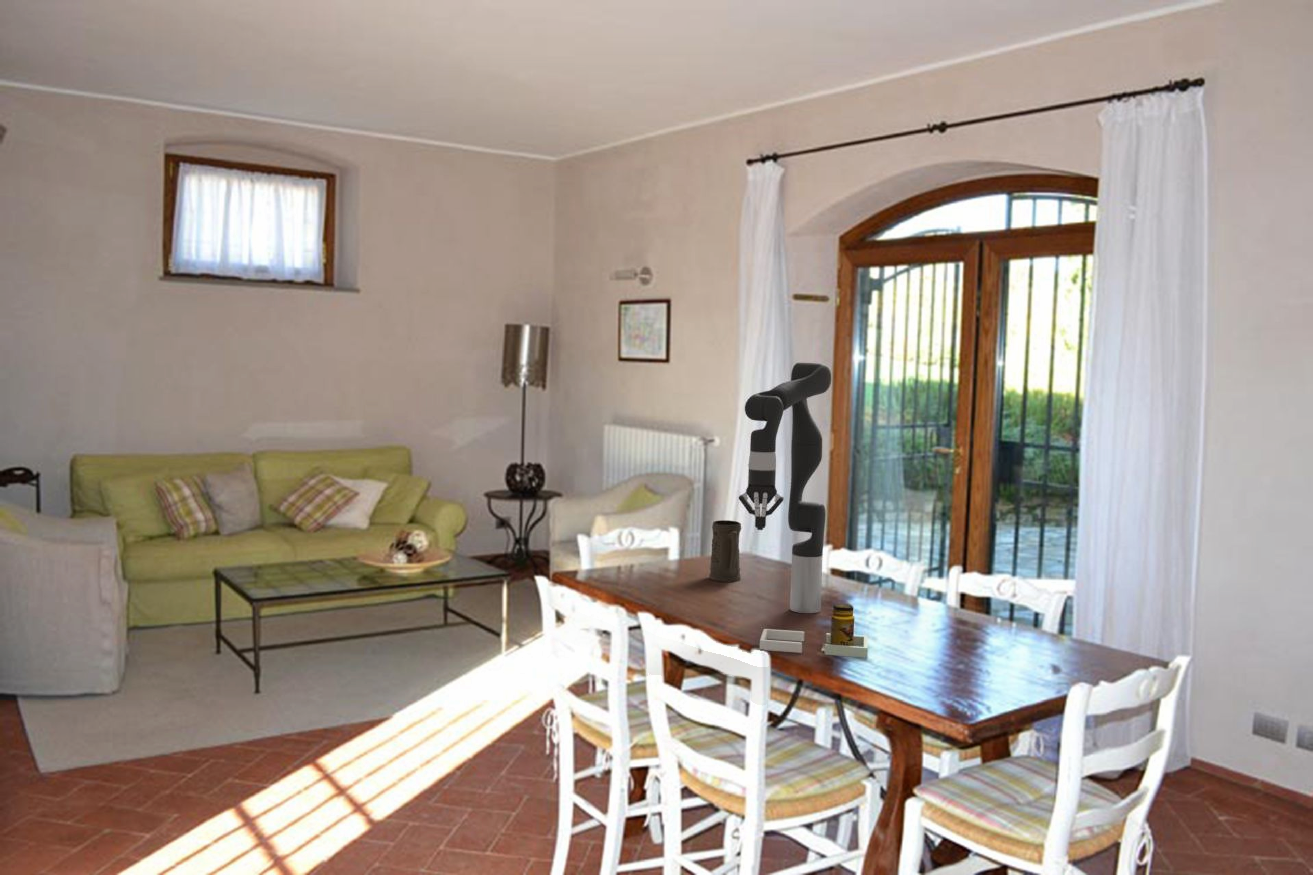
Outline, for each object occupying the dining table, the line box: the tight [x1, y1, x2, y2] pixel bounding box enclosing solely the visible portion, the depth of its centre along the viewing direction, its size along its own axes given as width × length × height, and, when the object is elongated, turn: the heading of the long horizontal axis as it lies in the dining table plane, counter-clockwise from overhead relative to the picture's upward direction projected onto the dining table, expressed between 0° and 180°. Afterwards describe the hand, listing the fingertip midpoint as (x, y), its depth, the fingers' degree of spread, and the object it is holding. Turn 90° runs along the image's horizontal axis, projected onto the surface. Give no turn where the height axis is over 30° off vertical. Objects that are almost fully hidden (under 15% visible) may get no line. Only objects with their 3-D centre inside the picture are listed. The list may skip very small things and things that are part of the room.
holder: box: [759, 628, 805, 654], centre depth 299 cm, size 12×11×2 cm
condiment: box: [821, 603, 855, 652], centre depth 296 cm, size 7×8×12 cm
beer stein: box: [708, 519, 742, 583], centre depth 380 cm, size 15×11×20 cm
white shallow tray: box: [824, 632, 869, 659], centre depth 296 cm, size 12×11×2 cm
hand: (760, 529), depth 310 cm, fingers closed
